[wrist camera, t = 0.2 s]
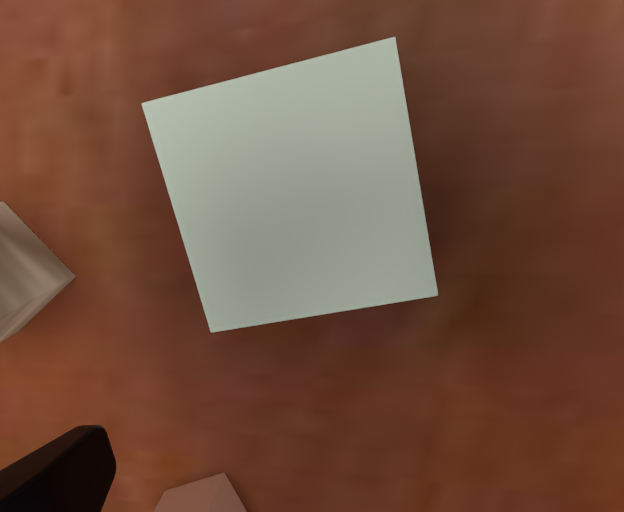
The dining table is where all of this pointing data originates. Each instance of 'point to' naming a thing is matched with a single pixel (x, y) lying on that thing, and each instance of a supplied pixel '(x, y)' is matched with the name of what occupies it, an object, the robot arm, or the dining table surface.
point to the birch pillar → (25, 273)
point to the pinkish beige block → (202, 497)
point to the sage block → (297, 188)
